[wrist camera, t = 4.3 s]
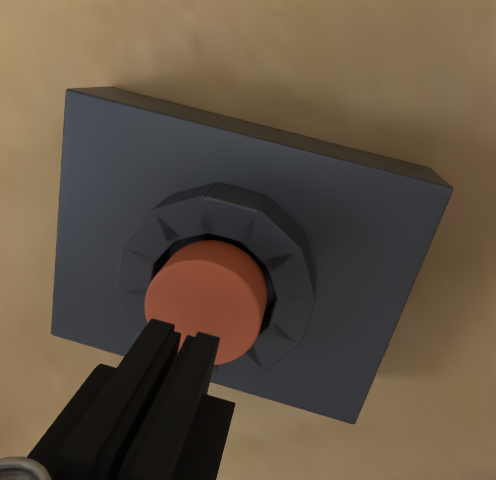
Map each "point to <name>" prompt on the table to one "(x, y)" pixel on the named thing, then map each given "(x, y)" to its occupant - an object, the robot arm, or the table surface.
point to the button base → (241, 238)
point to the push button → (210, 296)
